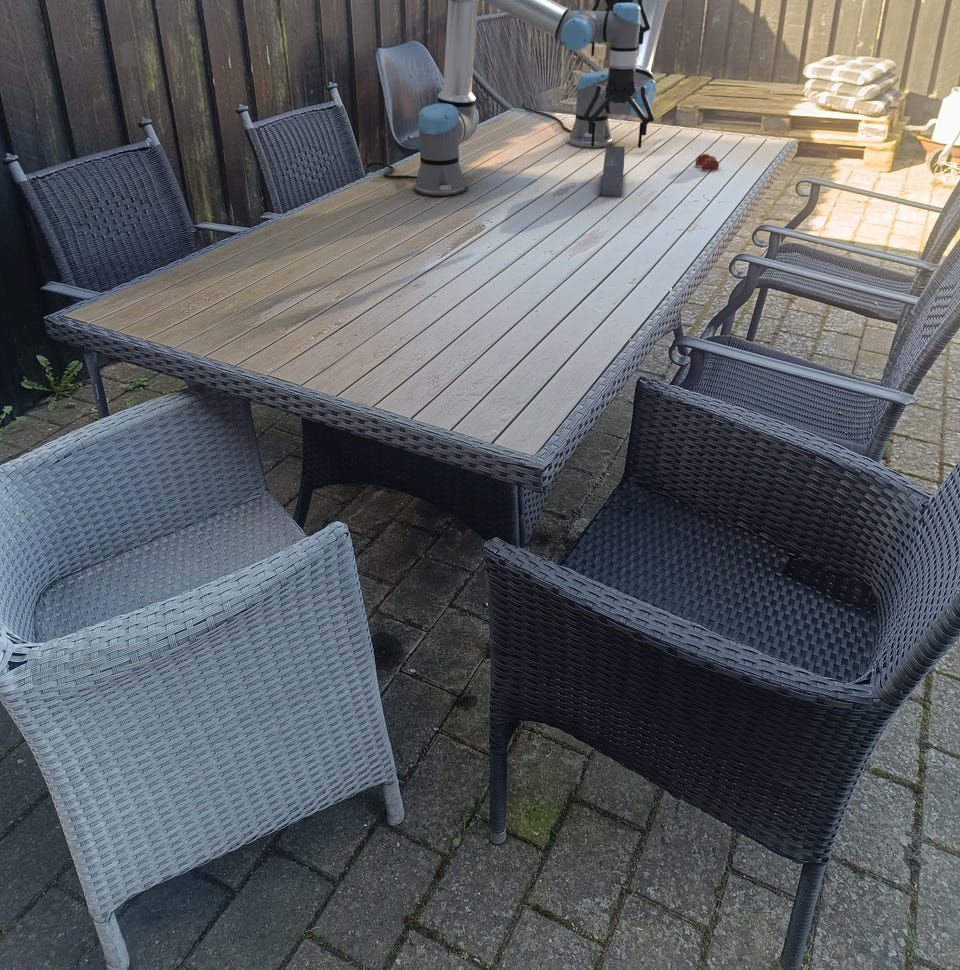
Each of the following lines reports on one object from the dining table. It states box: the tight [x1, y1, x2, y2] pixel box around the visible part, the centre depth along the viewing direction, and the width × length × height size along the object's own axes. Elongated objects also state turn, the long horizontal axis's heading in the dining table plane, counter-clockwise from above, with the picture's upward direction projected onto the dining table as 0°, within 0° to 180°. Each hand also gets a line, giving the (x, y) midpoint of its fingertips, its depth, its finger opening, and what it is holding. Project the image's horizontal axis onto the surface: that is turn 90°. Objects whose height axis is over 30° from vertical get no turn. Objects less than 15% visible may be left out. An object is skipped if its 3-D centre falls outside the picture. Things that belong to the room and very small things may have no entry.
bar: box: [600, 145, 626, 198], centre depth 260 cm, size 23×6×9 cm, turn 171°
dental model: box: [694, 153, 720, 171], centre depth 277 cm, size 6×4×8 cm
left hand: (615, 146), depth 248 cm, fingers open, 13 cm apart
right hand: (614, 55), depth 263 cm, fingers open, 13 cm apart
